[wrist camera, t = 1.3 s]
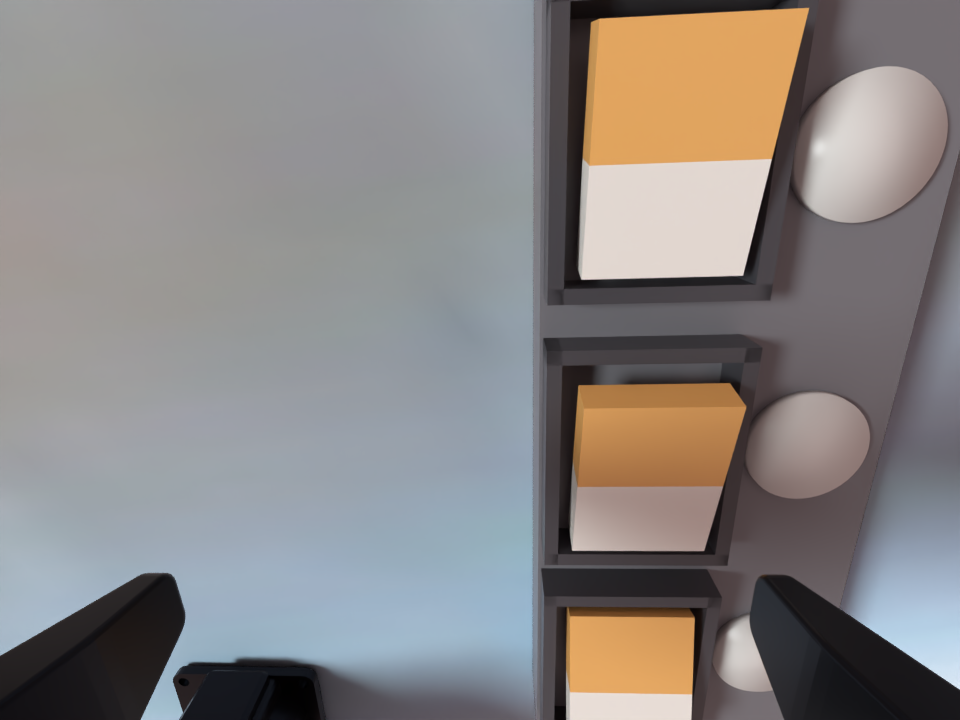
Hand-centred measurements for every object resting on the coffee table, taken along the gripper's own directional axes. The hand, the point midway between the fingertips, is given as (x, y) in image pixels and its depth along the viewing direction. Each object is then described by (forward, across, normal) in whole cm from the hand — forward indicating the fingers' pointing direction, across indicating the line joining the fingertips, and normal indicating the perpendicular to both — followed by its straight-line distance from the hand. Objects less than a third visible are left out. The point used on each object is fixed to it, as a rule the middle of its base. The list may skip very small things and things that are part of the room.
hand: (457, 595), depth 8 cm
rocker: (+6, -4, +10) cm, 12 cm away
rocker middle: (+6, -4, +2) cm, 8 cm away
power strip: (+10, -7, +3) cm, 13 cm away
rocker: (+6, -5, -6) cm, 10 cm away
